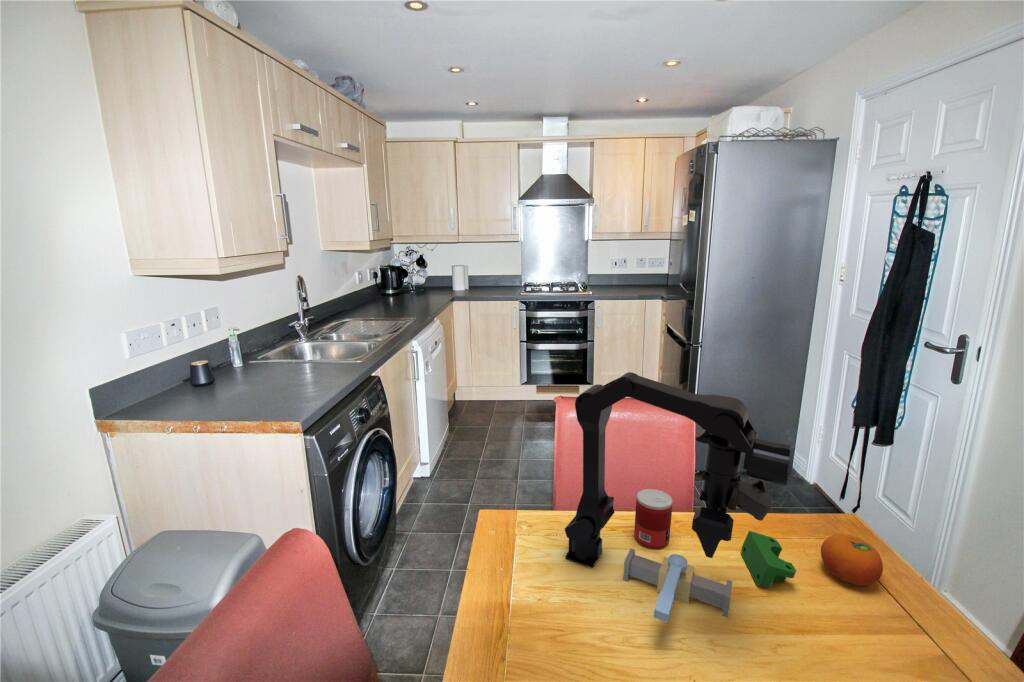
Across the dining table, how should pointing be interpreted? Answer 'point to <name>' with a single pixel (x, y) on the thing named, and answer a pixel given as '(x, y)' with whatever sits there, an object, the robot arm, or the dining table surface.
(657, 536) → the canned food
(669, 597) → the lever
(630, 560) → the pipe valve
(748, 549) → the green bracket
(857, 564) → the fruit
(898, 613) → the dining table surface
